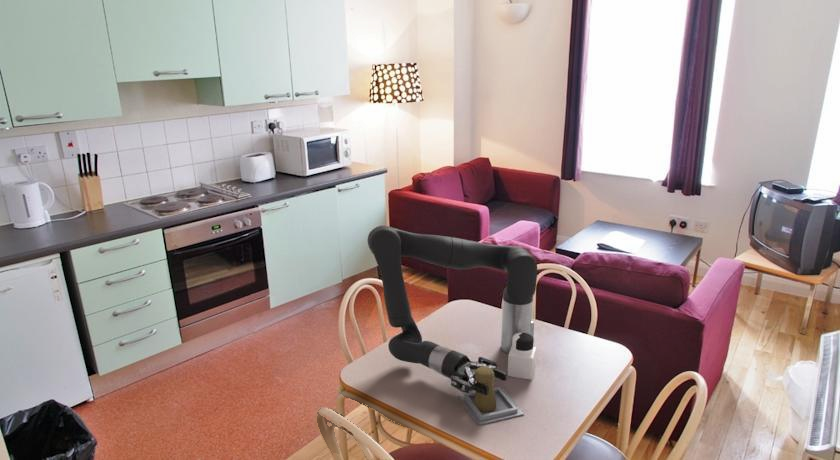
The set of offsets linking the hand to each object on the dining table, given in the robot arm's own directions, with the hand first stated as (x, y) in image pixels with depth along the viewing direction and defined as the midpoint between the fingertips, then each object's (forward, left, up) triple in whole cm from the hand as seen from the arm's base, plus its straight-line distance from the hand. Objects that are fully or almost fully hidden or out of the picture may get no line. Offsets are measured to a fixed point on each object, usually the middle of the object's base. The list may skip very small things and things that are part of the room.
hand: (497, 384), depth 145 cm
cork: (+2, -2, -7) cm, 8 cm away
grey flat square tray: (+1, -2, -7) cm, 8 cm away
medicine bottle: (-15, -14, -8) cm, 22 cm away
